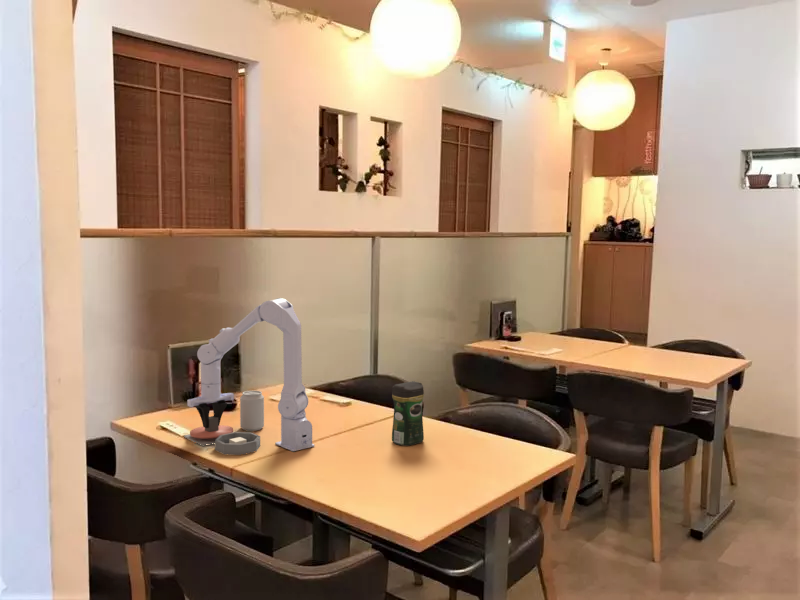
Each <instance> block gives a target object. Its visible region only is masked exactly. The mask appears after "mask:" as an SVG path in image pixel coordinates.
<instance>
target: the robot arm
mask: <svg viewBox="0 0 800 600" xmlns="http://www.w3.org/2000/svg"><path fill="white" fill-rule="evenodd" d="M261 322H267V323H268V324H271V325H273V326H276V327H277V328H278V329H279V330H280V331H281V332H282V333H283V334H282V335H283V336H282V337H283V338H282V341H283V346H282V347H283V351H282V352H283V386H282V388H281V392H280V400H279V402H278V404H277V409H278V412H279V414H280V416H281V417H280V422H281V423H280V431H281V432H280V433H281V434H280V435H281V436H280V438H281V439H280V441H276V442H275V446H278V447H279V446H280V447H281V448H283V449H286V450H289V451H291V452H296V451H297V452H298V451H299V450H304V449H308V448H309V449H310V448H312V447H313V448H314V447H316V445H315V444H314V443H313V425H312V423H311V421H310V420H308V419H307V416H306V414H307V413H306V411H305V409H307V407H308V406H309V397H308V395H307V392H306V387H305V385H304V384H303V382H302V381H303V379H302V378H303V376H302V375H303V372H302V371H303V367H302V364H303V362H302V357H303V356H302V355H303V354H302V353H303V352H302V323H301V322H300V319H299V318H298V316H297V314H296V312H295V309H294V305H293V304H292V303H291V302H289V301H288V300H287V299H285V298H282V297H279V298H274V299H271V300H269V299H268V300H266V301H263V302H262V303H261V304H259V305H257V306H255V308H254V309H252V310H251V311H250V312H249V313H248V314H247V315H246V316H244V317H243V318H242V319H241V320H240V321H238V323H236V325H234V326H233V327H226V328H224V327H223V328H221V329H220V330H219V333H218V334H217V335H216V336H215V337H214V338H213V337H212V338H210V339H208V344H207V343H206V344H202V345H200V346H199V348H198V350H197V353H196V355H197V356H196V357H197V359H198V360H199V362H200V389H201V390H200V394H201V395H200V396H197V397H194V398H189V399H187V401H186V402H187V405H186V406H187V407H189V408H194V407H195V409H196V410H197V412H198V414H199V416H200V419H201V423H202V427H205V428H208V427H209V417H210V411H211V406H209V404H211V405H212V409H213V416H215V417H218V426H219V425H220V424H221V419H222V415H223V413H224V411H225V409H226V408H227V406H228V403H227V402H226V401H234V399H235V397H234V396H235V393H233V392H227V393H226V392H224V393H222V392H221V390H222V387H221V384H222V383H221V360H222V359H223V357H224V355H225V354H226V353H227V352H229V351H230V350H231V349H232V348H233V347H236V345H237V344H239V343H240V339H241V336H242V335H243V334H244V333H246V332H248V330H250V329H251V328H253V327H254V326H256V325H257V324H258V323H261Z"/></svg>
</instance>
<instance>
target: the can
mask: <svg viewBox="0 0 800 600" xmlns="http://www.w3.org/2000/svg"><path fill="white" fill-rule="evenodd" d="M262 393H263V392H262V391H260V390H246V391H243V392H242V393H241V396H240V398H239V401H240V403H239V411H240V413H239V415H240V416H239V417H240V420H239V421H240V422H239V425H240V428H241V429H242V430H243V431H245V430H247V431H246V432H257V431H260V430H262V428H264V426H265V396H264V395H263V394H262Z"/></svg>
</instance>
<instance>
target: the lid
mask: <svg viewBox="0 0 800 600" xmlns="http://www.w3.org/2000/svg"><path fill="white" fill-rule="evenodd" d="M233 432H234V427H232V426H229V425H222V424H221V425H220V424H219V426H218V417H215V416H214V415H212V416H210V415H209V427H208V428H205V427H203V426H199V427H195V428H192V429H191V430H190V431H189V434H190V436H191V437H194V438H201V439H209V438H218V437H219V436H220V435H223V434H228V433H233Z"/></svg>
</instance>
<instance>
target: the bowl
mask: <svg viewBox="0 0 800 600" xmlns="http://www.w3.org/2000/svg"><path fill="white" fill-rule="evenodd" d="M260 447H261V435H258V434H256V433H253V432H252V431H245V432H242V431H241V432H240V431H239V432H238V431H237V432H236V431H233V433H228V434H223V435H220V436H219V437H218V438H217V439H216V440H215V444H214V450H215V451H216V452H218V453H220V454H222V455H226V456H228V455H231V456H232V455H235V456H239V455H240V456H242V455H241V454H243V455H246V453H247V454H251V453H255V452H254V451H256V452H257V451H258V450H259V448H260ZM250 452H251V453H250ZM227 454H228V455H227Z"/></svg>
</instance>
